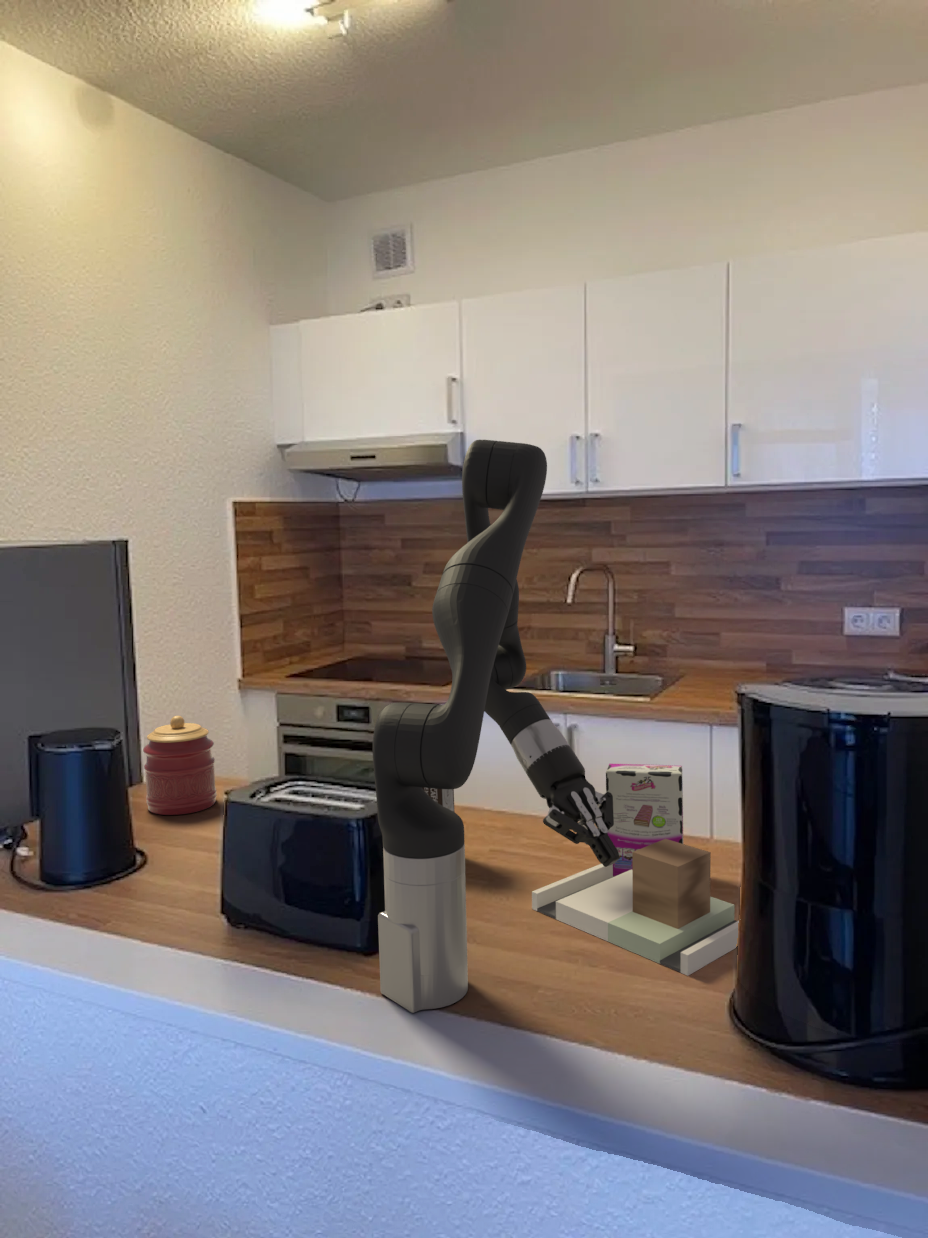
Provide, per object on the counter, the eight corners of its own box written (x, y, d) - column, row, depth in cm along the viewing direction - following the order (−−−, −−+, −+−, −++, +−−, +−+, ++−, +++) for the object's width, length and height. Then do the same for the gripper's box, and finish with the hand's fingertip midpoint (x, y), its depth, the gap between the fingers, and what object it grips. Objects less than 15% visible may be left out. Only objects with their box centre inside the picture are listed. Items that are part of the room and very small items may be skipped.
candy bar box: (683, 870, 138) (683, 764, 136) (683, 883, 133) (683, 773, 131) (609, 865, 141) (608, 761, 139) (606, 877, 136) (605, 770, 134)
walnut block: (677, 929, 113) (677, 866, 112) (632, 911, 118) (632, 852, 117) (710, 912, 117) (710, 852, 116) (665, 896, 122) (665, 838, 122)
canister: (200, 791, 185) (195, 706, 183) (228, 805, 175) (223, 715, 173) (136, 805, 176) (130, 716, 175) (162, 821, 167) (156, 726, 165)
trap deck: (687, 975, 106) (687, 955, 106) (532, 909, 125) (531, 891, 125) (761, 932, 117) (762, 914, 116) (607, 877, 136) (607, 861, 135)
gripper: (527, 752, 126) (595, 862, 118) (591, 735, 134) (658, 837, 126) (501, 782, 130) (565, 889, 122) (565, 764, 139) (629, 863, 131)
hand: (612, 862), depth 124 cm, fingers closed
